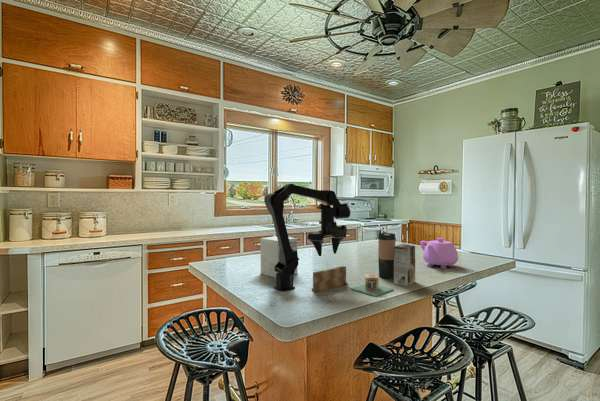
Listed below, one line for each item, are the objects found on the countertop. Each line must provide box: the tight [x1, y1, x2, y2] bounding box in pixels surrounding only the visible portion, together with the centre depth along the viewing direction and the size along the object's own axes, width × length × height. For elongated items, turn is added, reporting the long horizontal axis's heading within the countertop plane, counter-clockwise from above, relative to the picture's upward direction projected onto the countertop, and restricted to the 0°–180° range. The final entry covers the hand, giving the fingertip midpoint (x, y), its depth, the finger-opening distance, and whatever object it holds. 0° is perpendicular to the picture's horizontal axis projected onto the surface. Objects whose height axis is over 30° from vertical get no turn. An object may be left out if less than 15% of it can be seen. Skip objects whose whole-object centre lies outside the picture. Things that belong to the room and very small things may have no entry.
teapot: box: [419, 237, 459, 270], centre depth 170 cm, size 20×20×15 cm
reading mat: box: [350, 283, 394, 298], centre depth 127 cm, size 12×12×1 cm
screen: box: [311, 265, 349, 293], centre depth 131 cm, size 18×4×8 cm, turn 131°
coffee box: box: [393, 243, 416, 287], centre depth 137 cm, size 9×6×16 cm
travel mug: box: [377, 232, 396, 280], centre depth 148 cm, size 8×8×20 cm
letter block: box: [364, 273, 380, 291], centre depth 127 cm, size 5×5×5 cm
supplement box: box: [259, 235, 298, 279], centre depth 154 cm, size 13×13×18 cm
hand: (327, 254), depth 139 cm, fingers open, 9 cm apart
